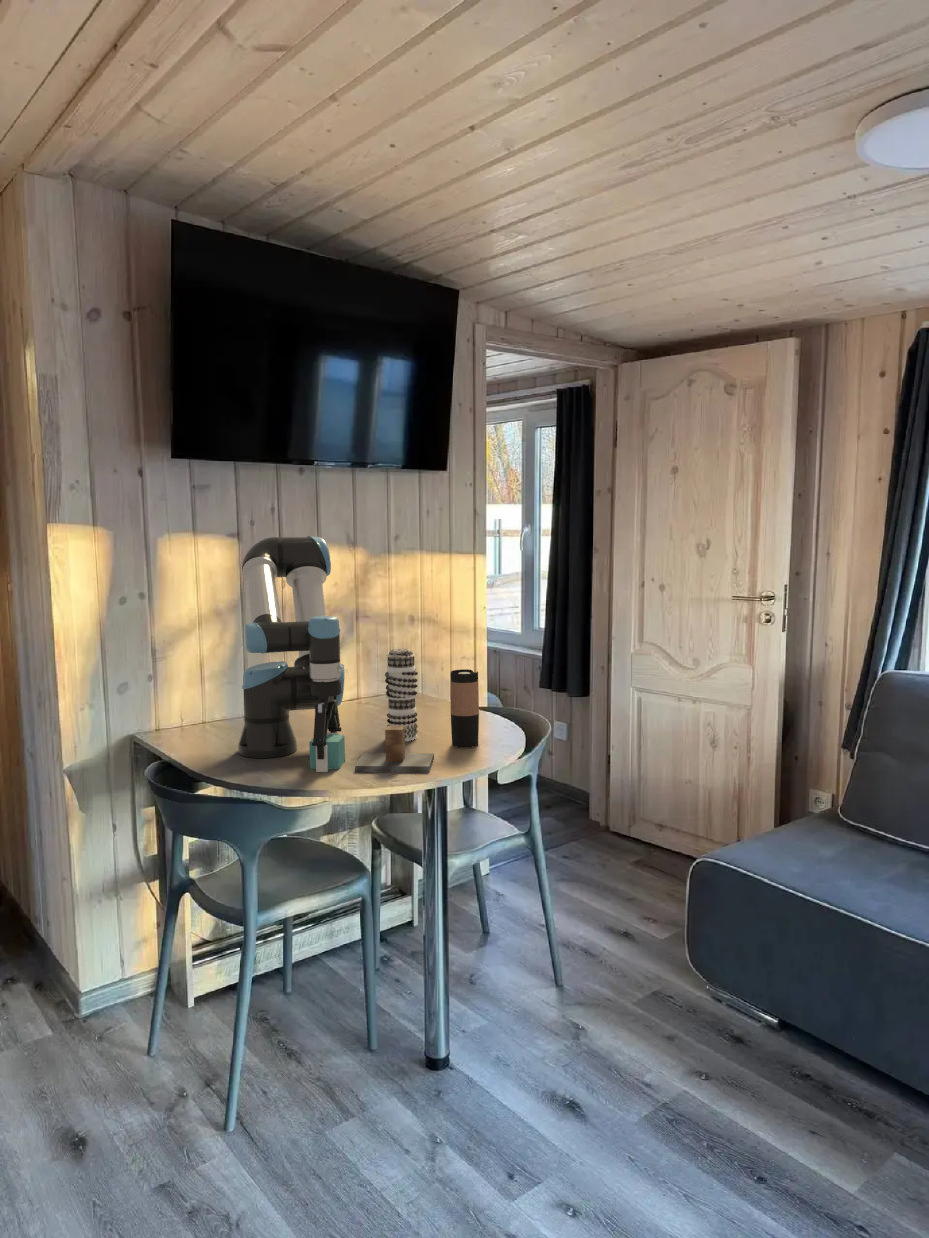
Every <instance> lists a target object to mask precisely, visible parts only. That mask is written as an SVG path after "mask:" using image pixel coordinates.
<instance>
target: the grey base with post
mask: <svg viewBox="0 0 929 1238" xmlns="http://www.w3.org/2000/svg"><path fill="white" fill-rule="evenodd" d="M384 733H385V734H384V736H385V737H384V738H385V739H384V740H385V752H363V754H362V755H361V756H360V758H359V760H358V761H357V762H356V763H355V766H354V772H355V773H427V774H428V773H430V771H431V769H432V767H433V764H432V763H434V761H433V760H435V753H433V752H432V753H429V752H428V753H423V752H422V753H420V752H419V753H418V752H415V753H414V752H411V753H410V752H409V753H406V746H405V745H406V743H405V742H406V741H405V729H404V726H387V725H386V728H385V731H384Z"/></svg>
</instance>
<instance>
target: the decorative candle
mask: <svg viewBox="0 0 929 1238" xmlns="http://www.w3.org/2000/svg"><path fill="white" fill-rule="evenodd" d="M415 656H416V654H415V653H413V651H412V650H411V649H409V648H393V649H391V650H390V651H389V652H388V654H387V655H386V657H387V665H386V672H385V674H384V677H385V679H384V682H385V683H386V684H387V685H385V690H386V692H385V694H386V698H387V700H388V704H387V705H388V706H387V714H386V717H387V719H386V722H387V723H388V724H387V725H386V727H387V726H404V729H405V742H411V740H412V741H415V740H417V739H418V735H417V734H418V731H419V730H418V729H417V728H418V727H419V726H418V724H417V721H418V719H417V716H418V713H417V706H416V698H418V695H417V694H418V692H417V691H416V690H415V689H417V687H418V684H416V683H417V682H418V679H417V678H415V676H417V675H418V674H419V673H418V671H416V670H417V668H416V664H415ZM414 739H415V740H414Z"/></svg>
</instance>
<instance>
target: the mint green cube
mask: <svg viewBox="0 0 929 1238" xmlns="http://www.w3.org/2000/svg"><path fill="white" fill-rule="evenodd" d="M320 740H321V739H320ZM345 740H346V739H345V734H338V735H327V739H326V745H327V754H328V770H340V768H341V767H342V766H343V765H344V763H345V762H346V746H345V744H346V743H345ZM312 742H313V738H312V739H310V740H309V742H308V743H309V744H308V745H309V769H310V770H316V746H312ZM342 764H343V765H342Z"/></svg>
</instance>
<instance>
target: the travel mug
mask: <svg viewBox="0 0 929 1238" xmlns="http://www.w3.org/2000/svg"><path fill="white" fill-rule="evenodd" d="M479 689H480V688H479V671H478V670H477V671H476V672H475V671H473V670H472V669H467V668H466V669H454V670H452V671H450V726H451V727H450V728H451V745H452V746H453V747H455V746H457V747H456V748H460V747H469V748H473V747H472V746H475V747H477V746H478V745H479V732H480V731H479V730H480V728H479V727H480V726H479V724H480V721H479V720H480V704H479V703H480V697H479Z"/></svg>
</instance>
